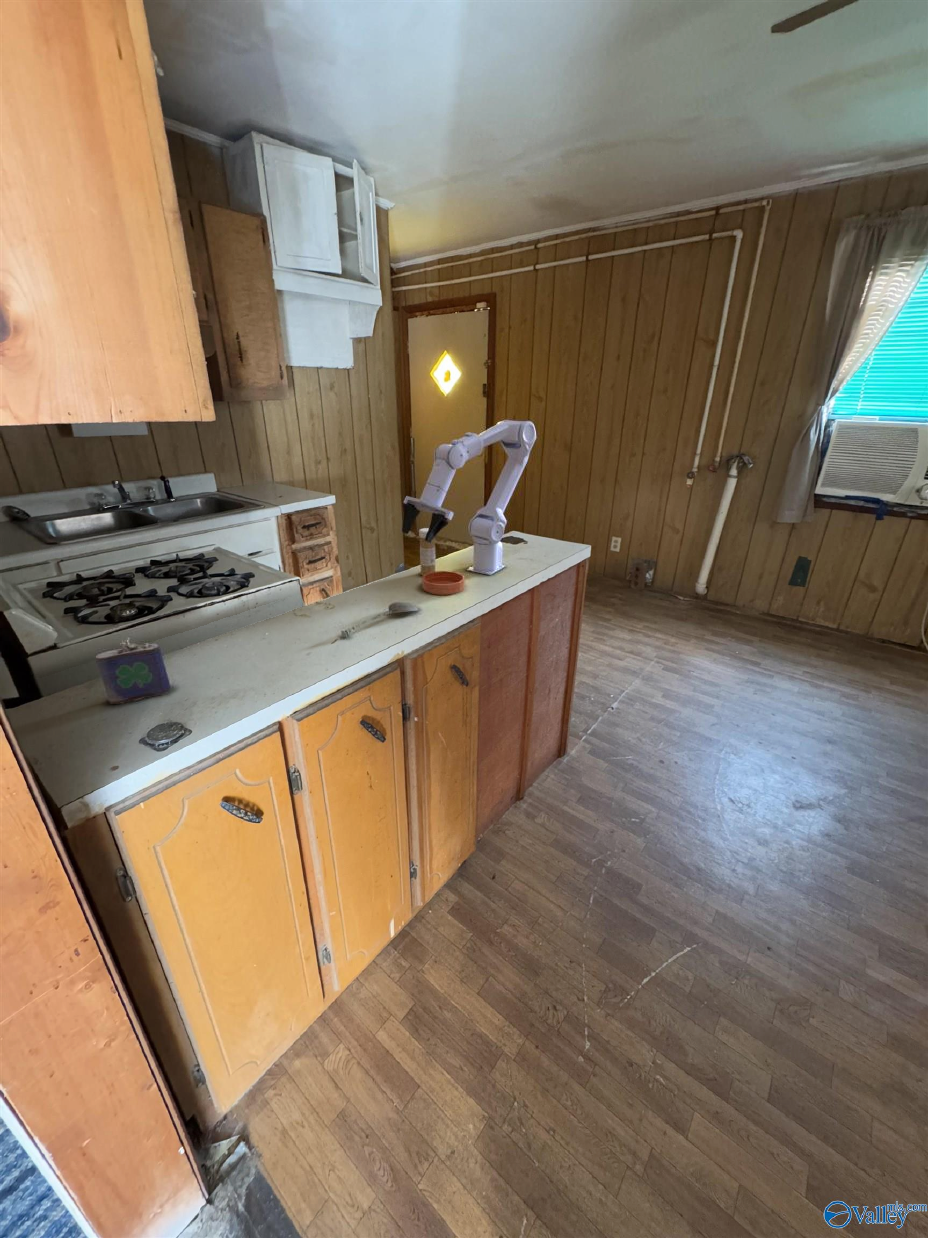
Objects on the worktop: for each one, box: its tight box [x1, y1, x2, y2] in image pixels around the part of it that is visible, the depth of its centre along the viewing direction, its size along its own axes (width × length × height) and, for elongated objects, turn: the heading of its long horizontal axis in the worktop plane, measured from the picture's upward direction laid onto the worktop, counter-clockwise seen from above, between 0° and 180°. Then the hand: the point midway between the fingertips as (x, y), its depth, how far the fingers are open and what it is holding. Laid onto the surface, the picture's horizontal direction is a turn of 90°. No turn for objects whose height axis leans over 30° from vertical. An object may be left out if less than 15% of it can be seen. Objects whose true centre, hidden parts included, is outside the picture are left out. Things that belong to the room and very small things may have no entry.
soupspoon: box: [340, 601, 419, 638], centre depth 116 cm, size 22×3×7 cm
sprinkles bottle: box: [418, 527, 436, 577], centre depth 145 cm, size 5×5×14 cm
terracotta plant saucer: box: [421, 570, 466, 596], centre depth 137 cm, size 12×12×3 cm
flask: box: [94, 637, 172, 705], centre depth 85 cm, size 9×3×11 cm, turn 117°
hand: (415, 537), depth 131 cm, fingers open, 7 cm apart
